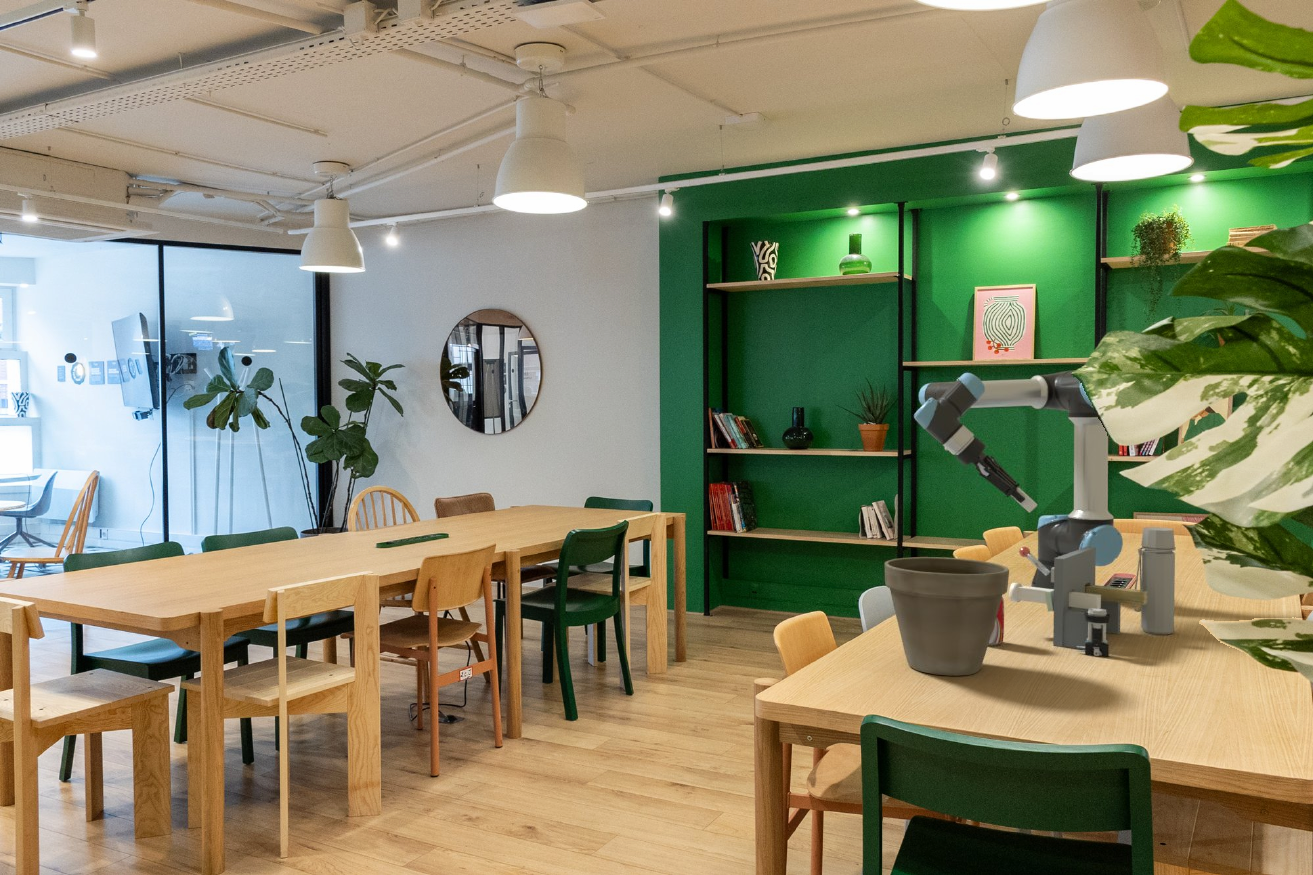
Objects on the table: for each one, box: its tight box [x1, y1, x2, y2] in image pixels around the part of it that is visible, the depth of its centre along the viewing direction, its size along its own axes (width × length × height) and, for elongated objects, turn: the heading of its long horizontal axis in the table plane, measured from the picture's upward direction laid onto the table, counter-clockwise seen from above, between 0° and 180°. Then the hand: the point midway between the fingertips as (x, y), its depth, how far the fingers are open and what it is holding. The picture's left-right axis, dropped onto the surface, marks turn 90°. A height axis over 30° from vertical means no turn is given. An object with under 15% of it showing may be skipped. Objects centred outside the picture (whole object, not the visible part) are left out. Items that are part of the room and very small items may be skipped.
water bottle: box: [1133, 526, 1176, 636], centre depth 236 cm, size 9×8×25 cm
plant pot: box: [884, 556, 1010, 677], centre depth 204 cm, size 25×25×22 cm
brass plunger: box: [1085, 584, 1147, 606], centre depth 233 cm, size 4×20×4 cm, turn 50°
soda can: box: [988, 596, 1005, 647], centre depth 225 cm, size 7×7×12 cm
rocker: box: [1045, 590, 1054, 612], centre depth 225 cm, size 3×1×4 cm, turn 140°
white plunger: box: [1008, 582, 1101, 609], centre depth 228 cm, size 4×20×4 cm, turn 50°
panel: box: [1051, 547, 1122, 651], centre depth 230 cm, size 24×9×20 cm, turn 140°
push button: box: [1076, 608, 1111, 658], centre depth 215 cm, size 7×5×10 cm
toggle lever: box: [1018, 546, 1050, 576], centre depth 227 cm, size 2×7×6 cm, turn 50°
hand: (1033, 508), depth 255 cm, fingers closed
